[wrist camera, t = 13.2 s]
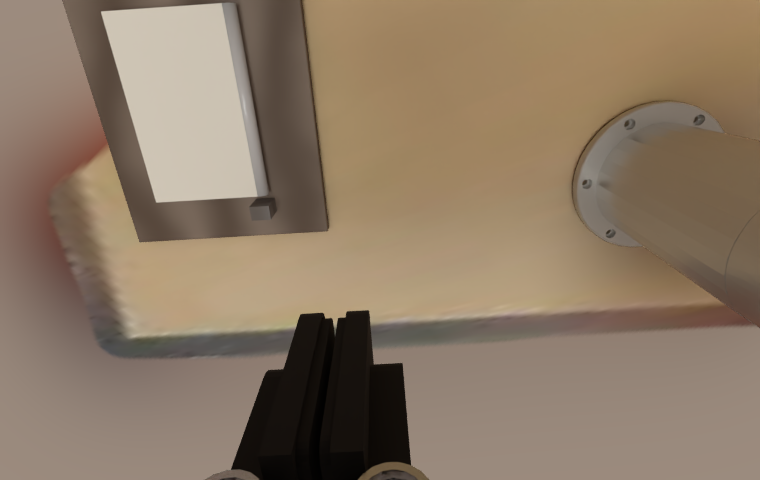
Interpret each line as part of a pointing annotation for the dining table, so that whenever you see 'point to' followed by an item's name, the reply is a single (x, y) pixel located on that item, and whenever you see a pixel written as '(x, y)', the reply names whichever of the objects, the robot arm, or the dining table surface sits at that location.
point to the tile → (189, 100)
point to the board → (273, 114)
